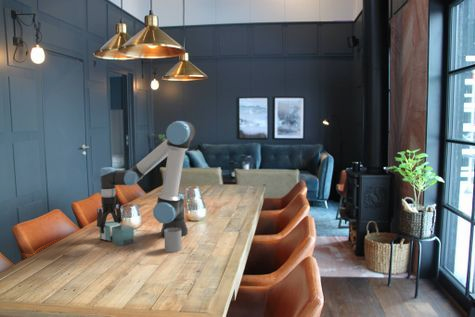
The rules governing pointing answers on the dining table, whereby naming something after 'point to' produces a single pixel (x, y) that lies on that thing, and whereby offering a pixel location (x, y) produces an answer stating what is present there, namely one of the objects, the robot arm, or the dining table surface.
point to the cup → (173, 240)
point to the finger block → (109, 229)
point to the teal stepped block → (122, 235)
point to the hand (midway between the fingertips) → (110, 237)
